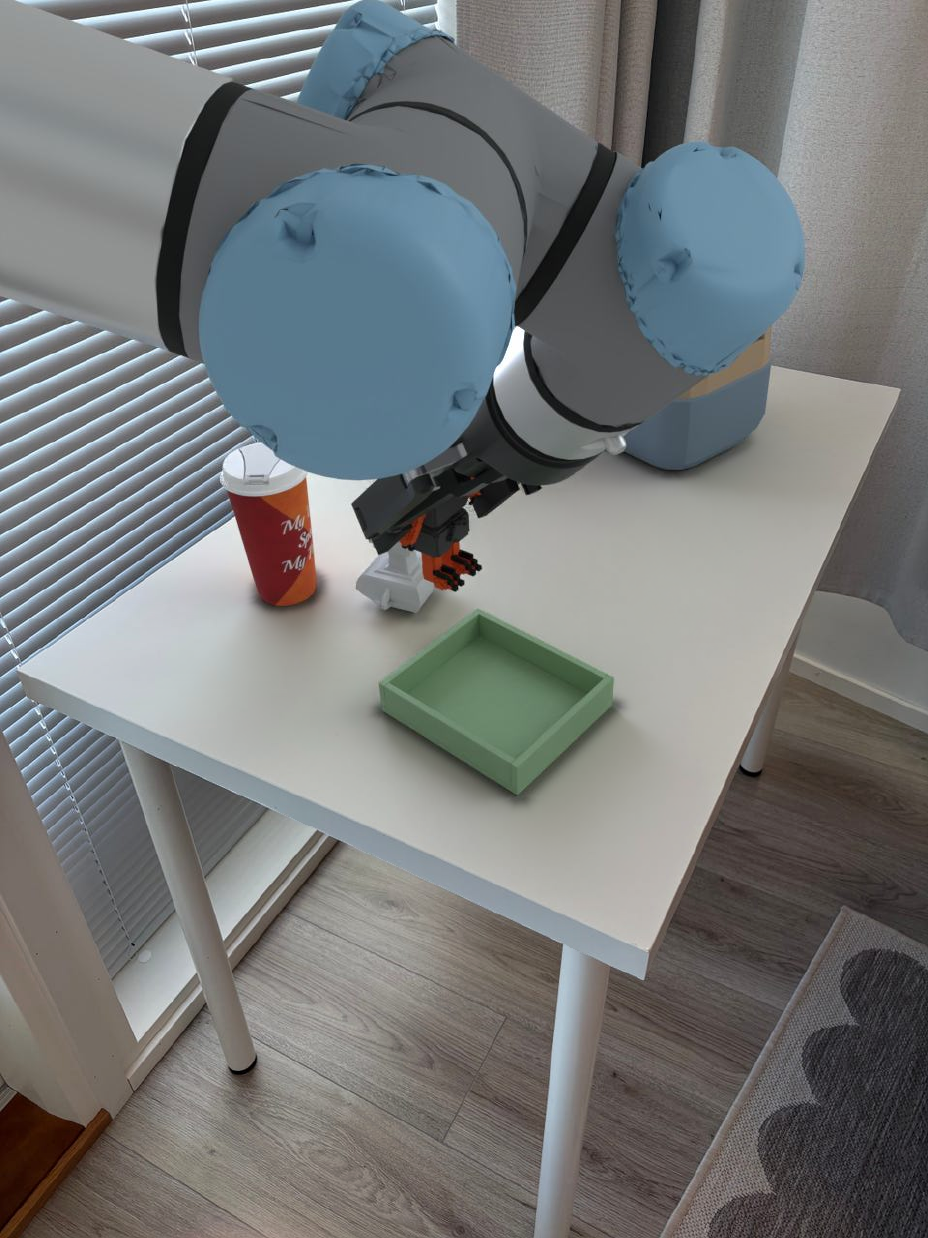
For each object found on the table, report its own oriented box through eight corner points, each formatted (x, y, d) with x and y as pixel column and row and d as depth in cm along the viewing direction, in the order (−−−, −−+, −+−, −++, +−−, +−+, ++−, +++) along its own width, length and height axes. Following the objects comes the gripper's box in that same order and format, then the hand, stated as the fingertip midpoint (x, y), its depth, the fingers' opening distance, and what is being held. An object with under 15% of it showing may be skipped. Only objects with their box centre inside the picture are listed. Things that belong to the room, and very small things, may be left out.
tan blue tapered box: (675, 490, 101) (700, 272, 87) (567, 435, 112) (573, 232, 97) (773, 438, 109) (811, 230, 95) (663, 391, 120) (683, 197, 105)
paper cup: (322, 612, 88) (299, 481, 79) (240, 614, 88) (208, 483, 79) (332, 562, 94) (312, 435, 85) (255, 564, 94) (227, 438, 85)
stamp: (417, 634, 85) (409, 557, 79) (352, 617, 87) (340, 542, 82) (458, 577, 91) (453, 503, 86) (396, 563, 93) (388, 489, 88)
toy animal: (456, 618, 66) (445, 466, 58) (395, 592, 68) (378, 444, 61) (520, 560, 71) (517, 414, 63) (461, 538, 73) (452, 395, 66)
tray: (381, 710, 77) (378, 682, 75) (479, 635, 84) (477, 607, 82) (517, 796, 70) (517, 767, 68) (612, 705, 77) (614, 677, 75)
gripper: (409, 525, 44) (317, 614, 65) (739, 407, 52) (561, 521, 73) (347, 378, 45) (276, 514, 66) (684, 282, 52) (523, 432, 73)
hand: (426, 517), depth 69 cm, fingers closed on toy animal, 8 cm apart
